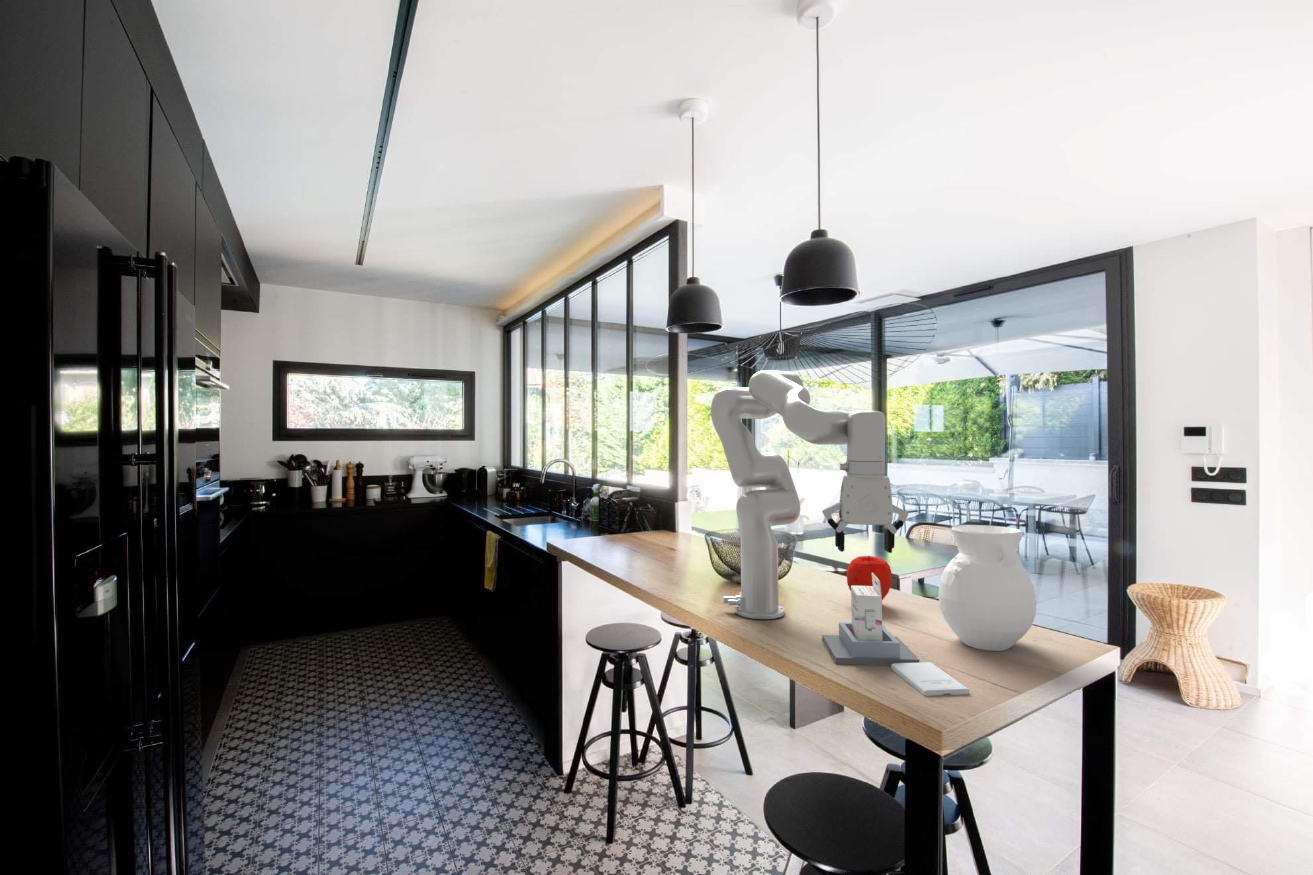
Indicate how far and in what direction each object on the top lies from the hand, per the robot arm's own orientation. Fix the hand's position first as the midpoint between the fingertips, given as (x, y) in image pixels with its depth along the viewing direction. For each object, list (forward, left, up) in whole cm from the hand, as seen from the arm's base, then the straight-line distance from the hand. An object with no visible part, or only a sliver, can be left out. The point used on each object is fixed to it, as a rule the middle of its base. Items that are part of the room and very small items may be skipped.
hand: (864, 550), depth 124 cm
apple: (+10, +36, -21) cm, 43 cm away
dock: (0, -1, -21) cm, 21 cm away
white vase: (+27, +7, -21) cm, 35 cm away
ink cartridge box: (0, 0, -20) cm, 20 cm away
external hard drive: (+7, -15, -22) cm, 27 cm away
